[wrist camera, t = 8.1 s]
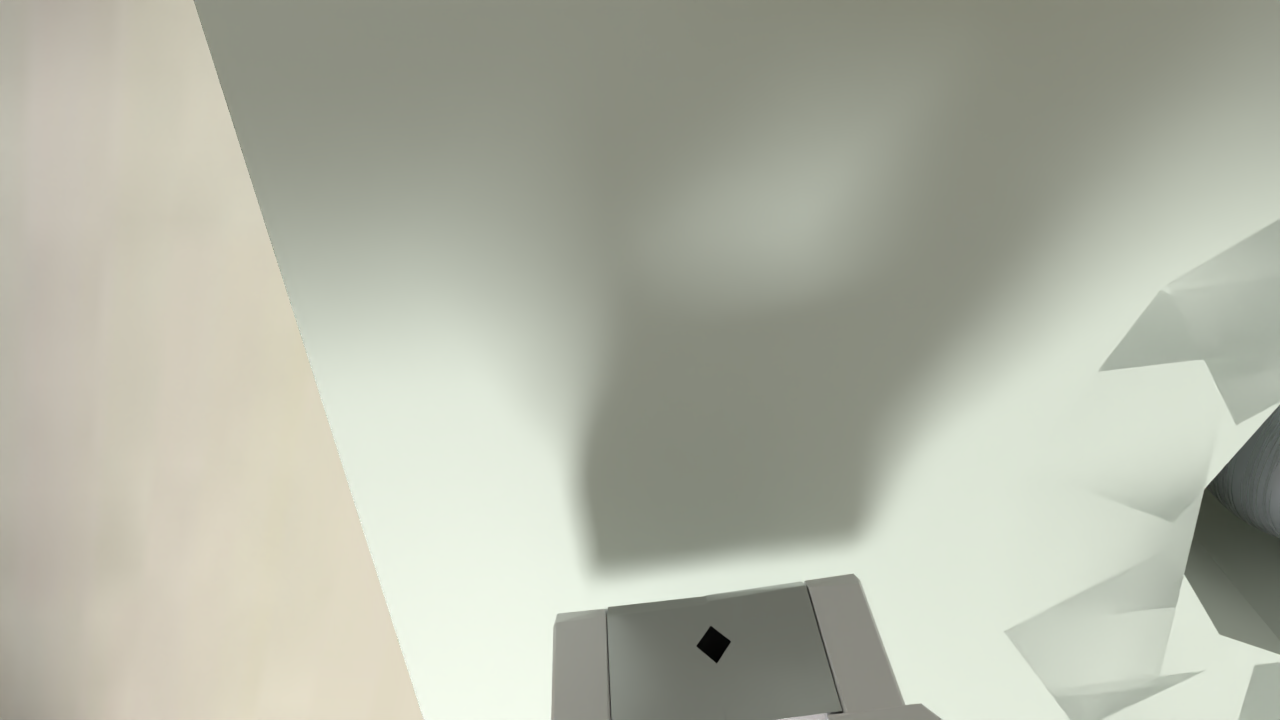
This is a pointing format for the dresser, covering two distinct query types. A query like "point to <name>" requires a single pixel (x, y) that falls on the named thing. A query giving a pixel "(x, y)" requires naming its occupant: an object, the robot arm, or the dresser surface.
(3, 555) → the dresser surface
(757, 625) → the robot arm
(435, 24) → the board
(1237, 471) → the ball
